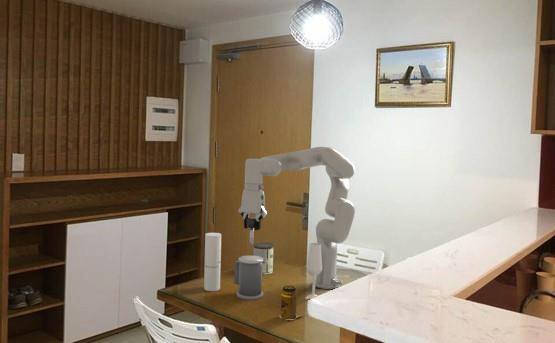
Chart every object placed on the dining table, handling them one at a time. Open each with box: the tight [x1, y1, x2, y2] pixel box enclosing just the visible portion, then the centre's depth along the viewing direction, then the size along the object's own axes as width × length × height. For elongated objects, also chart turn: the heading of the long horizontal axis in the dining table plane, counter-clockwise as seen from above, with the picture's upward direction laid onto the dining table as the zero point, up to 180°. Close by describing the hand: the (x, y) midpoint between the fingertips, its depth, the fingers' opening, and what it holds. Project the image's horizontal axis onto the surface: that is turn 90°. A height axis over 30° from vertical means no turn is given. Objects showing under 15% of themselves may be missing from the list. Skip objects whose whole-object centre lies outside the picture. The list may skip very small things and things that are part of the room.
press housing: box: [233, 255, 264, 301], centre depth 216 cm, size 14×12×16 cm
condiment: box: [280, 285, 298, 320], centre depth 192 cm, size 7×8×12 cm
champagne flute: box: [305, 242, 322, 300], centre depth 215 cm, size 7×7×24 cm
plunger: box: [246, 217, 256, 246], centre depth 214 cm, size 5×5×11 cm
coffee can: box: [253, 242, 274, 275], centre depth 253 cm, size 10×10×14 cm
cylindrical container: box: [203, 232, 222, 292], centre depth 223 cm, size 7×7×25 cm
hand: (252, 228), depth 214 cm, fingers closed on plunger, 5 cm apart
